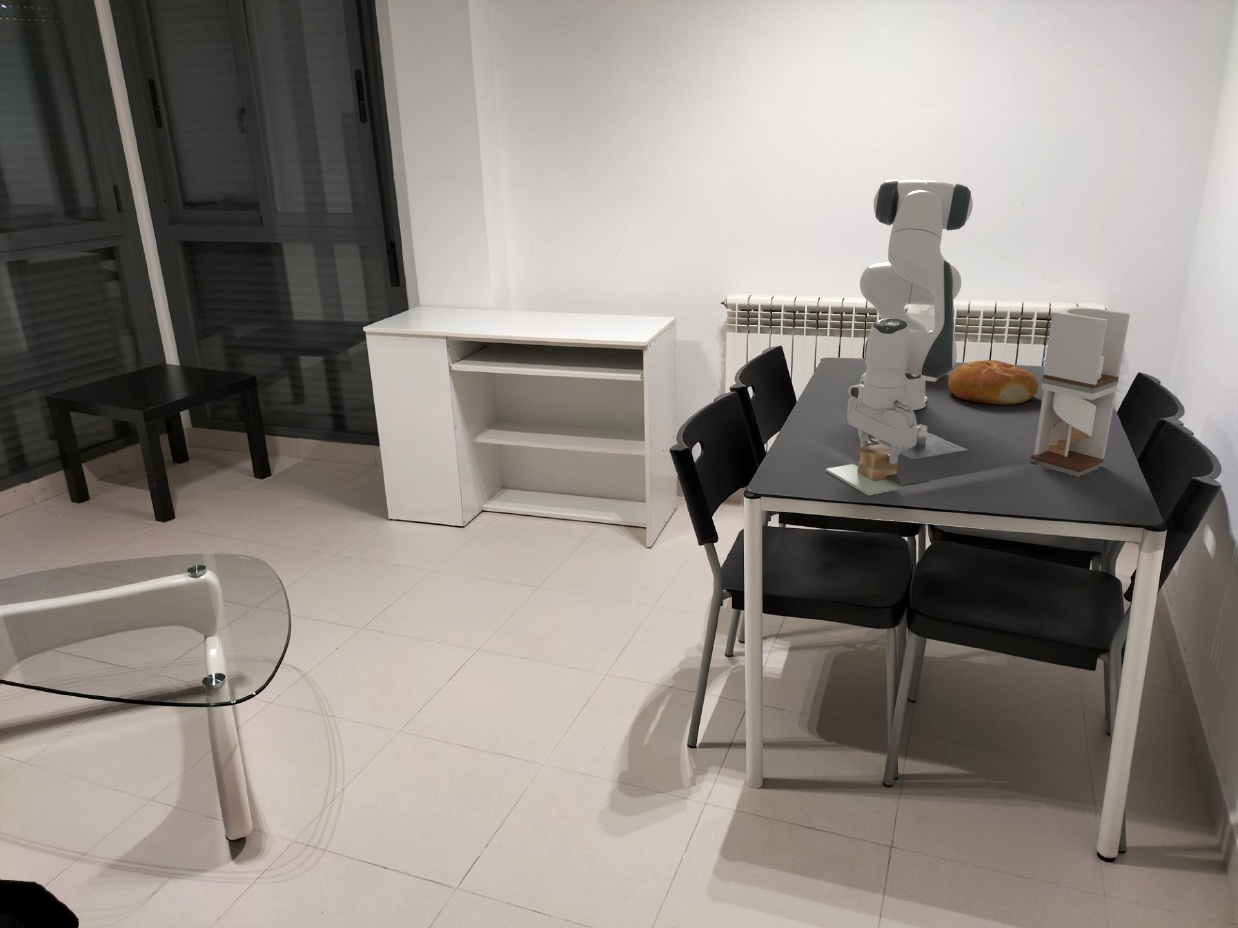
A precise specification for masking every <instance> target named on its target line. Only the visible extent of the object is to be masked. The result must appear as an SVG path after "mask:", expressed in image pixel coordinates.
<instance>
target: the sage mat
mask: <svg viewBox="0 0 1238 928" xmlns="http://www.w3.org/2000/svg"><path fill="white" fill-rule="evenodd" d="M825 472H826V473H828V474H829V475H832V476H834V477H835V478H836V479H839V480H841V481H842V482H844V483H846V484H848V485H849V486H851V487H853V488H854V489H856V490H858V491H860V492H861V493H863V494H865V495H866V496H869V497H870V496H873V495H874V494H875V495H879V494H884V492H885V493H890V491H891V492H896V491H900V489H902V490H906V489H911V488H916V487H923V486H928V485H930V483H931V481H929V480H924V481H920V482H913V483H908V484H907V483H906V484H902V483H900V482H899V481H898V482H897V481H896V480H895V479H893V478H890V479H885V480H879V481H872V480H870V479H868V478H867V477H865V476H863V475H861V474H859V473H857V472H858V462H857V463H851V464H844V465H840V466H839V465H838V466H833V467H827V468H825Z"/></svg>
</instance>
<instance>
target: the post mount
mask: <svg viewBox="0 0 1238 928" xmlns="http://www.w3.org/2000/svg"><path fill="white" fill-rule="evenodd" d="M870 440H871V441H873V442H875V443H877V444H884V445H886V446H888V447H890V448H891V444H889V443H887V442H885V441H883V440H881V439H878V438H876V437H874V438H870ZM963 451H968V449H967V448H965V447H963V446H960V445H958V444H956V443H953V442H951V441H949V440H946V439H944V438H942V437H939V436H937V435H935V434H933V433H930V432H928V425H926V424H921V423H920V424H918V423H917V442H916V445H915V446H914V447H913V448H909V449H903V450H902V451H901V452H900V454H899V455H902V456H904V457H907V458H908V459H911V460H918V459H923V458H929V457H930V458H931V457H934V456H935V457H936V456H941V455H946V454H952V453H959V452H963Z"/></svg>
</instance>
